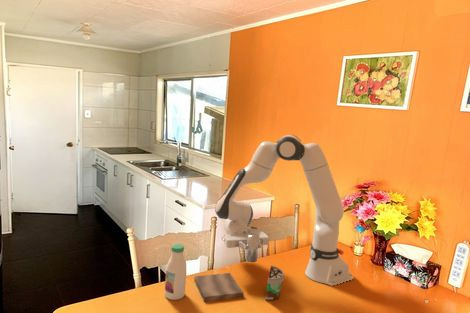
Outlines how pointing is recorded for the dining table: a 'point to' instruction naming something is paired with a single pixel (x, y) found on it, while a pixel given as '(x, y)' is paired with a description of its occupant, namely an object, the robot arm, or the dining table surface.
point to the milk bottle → (176, 274)
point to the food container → (274, 283)
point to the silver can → (252, 247)
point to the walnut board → (218, 287)
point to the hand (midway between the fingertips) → (253, 247)
